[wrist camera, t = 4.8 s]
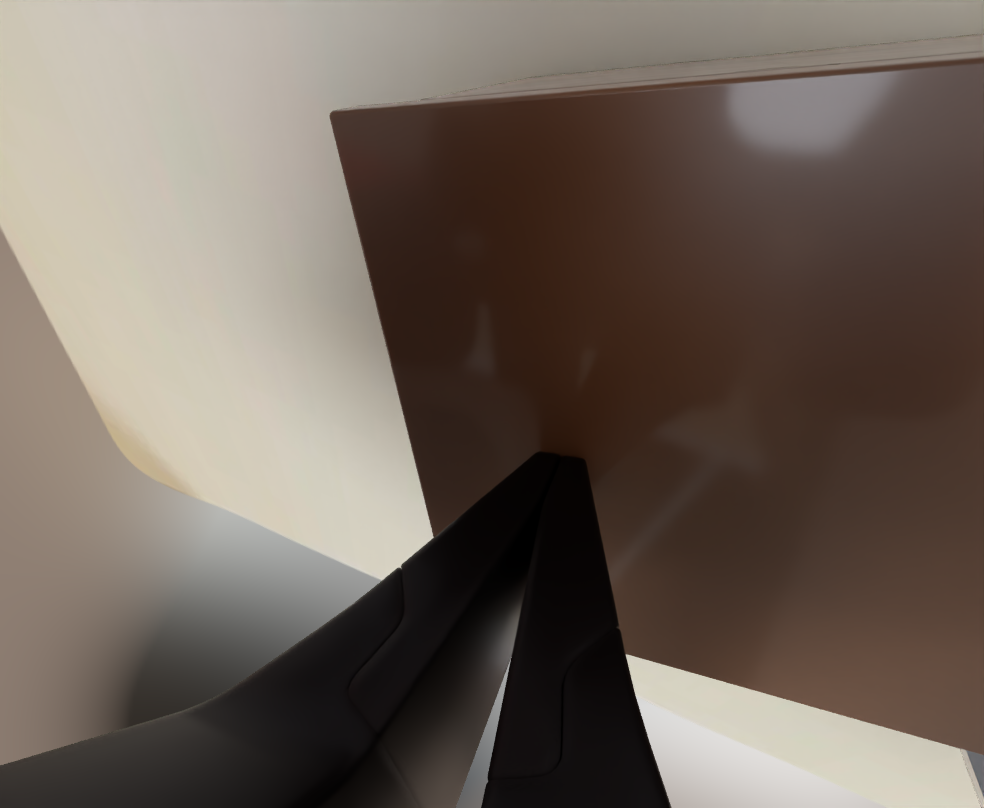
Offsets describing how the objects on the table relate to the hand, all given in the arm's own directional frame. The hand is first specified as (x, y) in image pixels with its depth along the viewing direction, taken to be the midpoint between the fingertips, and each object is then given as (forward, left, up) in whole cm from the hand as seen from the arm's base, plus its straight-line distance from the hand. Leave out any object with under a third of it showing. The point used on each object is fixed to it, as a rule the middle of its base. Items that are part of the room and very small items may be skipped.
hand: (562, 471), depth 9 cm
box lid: (-3, 0, -1) cm, 3 cm away
